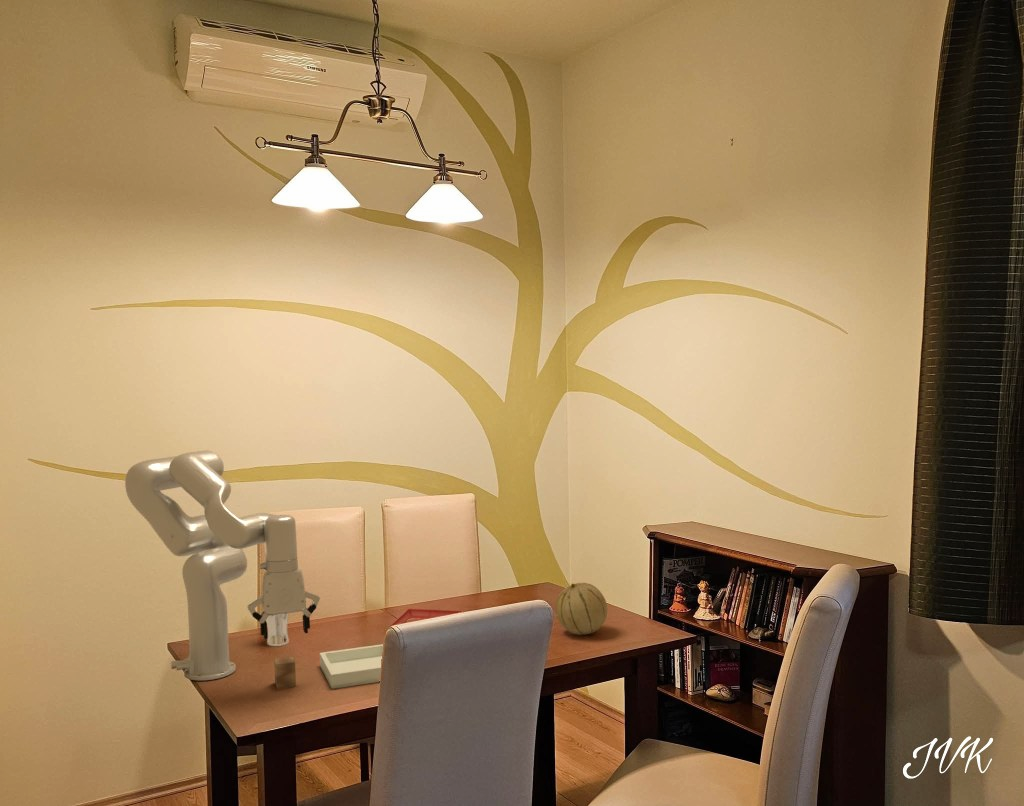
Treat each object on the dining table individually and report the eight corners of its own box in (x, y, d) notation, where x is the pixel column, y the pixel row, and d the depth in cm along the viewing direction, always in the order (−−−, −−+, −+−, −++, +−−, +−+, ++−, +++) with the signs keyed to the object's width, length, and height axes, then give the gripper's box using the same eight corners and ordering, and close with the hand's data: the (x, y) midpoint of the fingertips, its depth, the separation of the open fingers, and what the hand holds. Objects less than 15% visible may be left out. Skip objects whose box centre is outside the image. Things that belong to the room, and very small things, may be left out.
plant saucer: (448, 639, 252) (448, 628, 252) (388, 636, 256) (388, 625, 256) (464, 621, 270) (464, 610, 270) (408, 619, 273) (408, 608, 273)
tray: (331, 689, 214) (331, 674, 214) (320, 666, 231) (319, 652, 230) (404, 678, 220) (403, 664, 220) (387, 656, 237) (387, 643, 237)
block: (277, 689, 215) (276, 664, 214) (275, 683, 219) (274, 659, 219) (296, 686, 216) (295, 662, 216) (293, 680, 221) (292, 656, 220)
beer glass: (294, 639, 254) (292, 587, 253) (285, 647, 247) (283, 594, 247) (270, 639, 255) (268, 587, 254) (261, 646, 248) (259, 594, 247)
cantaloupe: (618, 633, 253) (617, 581, 252) (583, 645, 243) (582, 591, 242) (580, 623, 264) (579, 573, 263) (545, 633, 254) (544, 582, 253)
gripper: (246, 573, 210) (250, 644, 210) (319, 564, 216) (323, 633, 216) (244, 567, 217) (248, 636, 217) (315, 559, 223) (318, 626, 223)
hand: (285, 634), depth 217 cm, fingers open, 9 cm apart
